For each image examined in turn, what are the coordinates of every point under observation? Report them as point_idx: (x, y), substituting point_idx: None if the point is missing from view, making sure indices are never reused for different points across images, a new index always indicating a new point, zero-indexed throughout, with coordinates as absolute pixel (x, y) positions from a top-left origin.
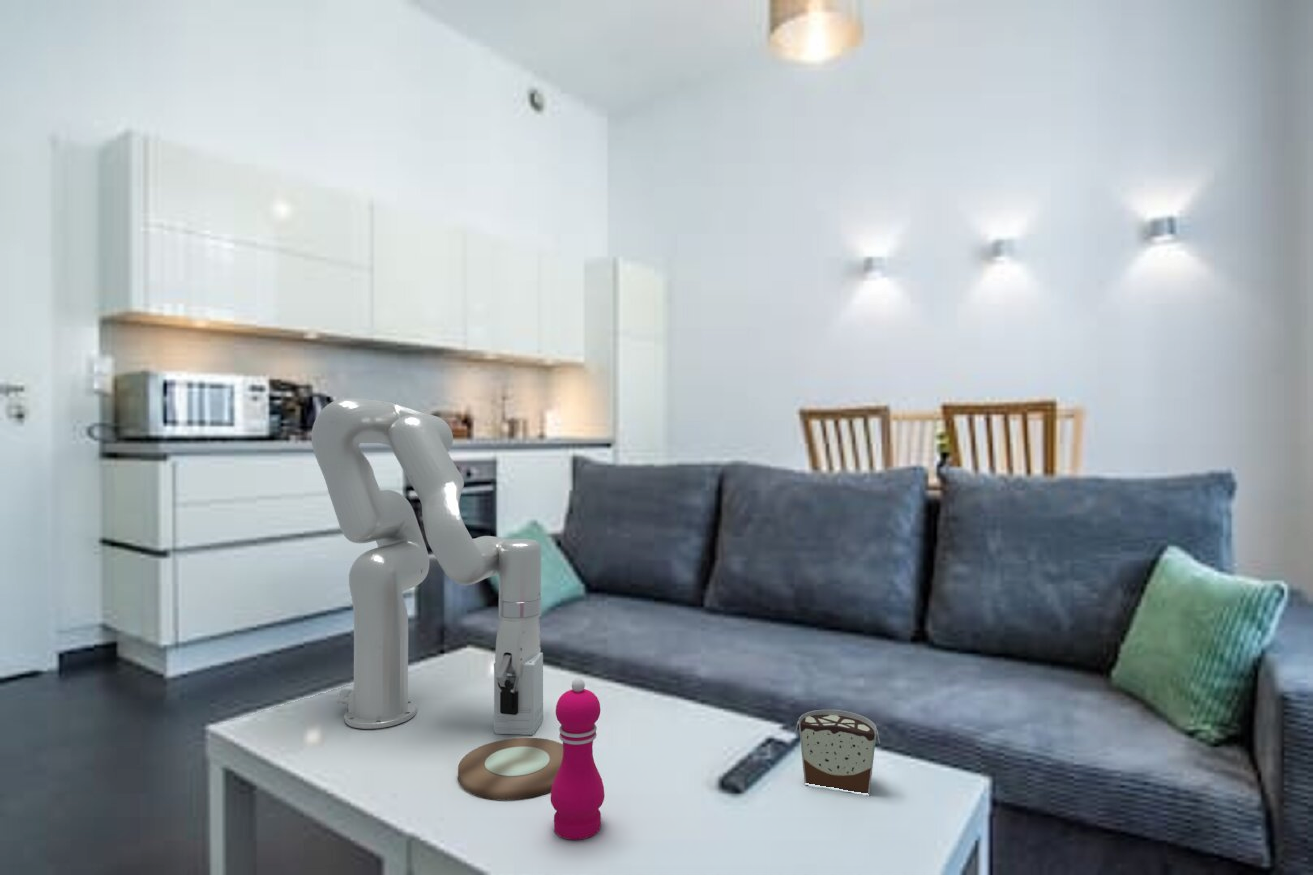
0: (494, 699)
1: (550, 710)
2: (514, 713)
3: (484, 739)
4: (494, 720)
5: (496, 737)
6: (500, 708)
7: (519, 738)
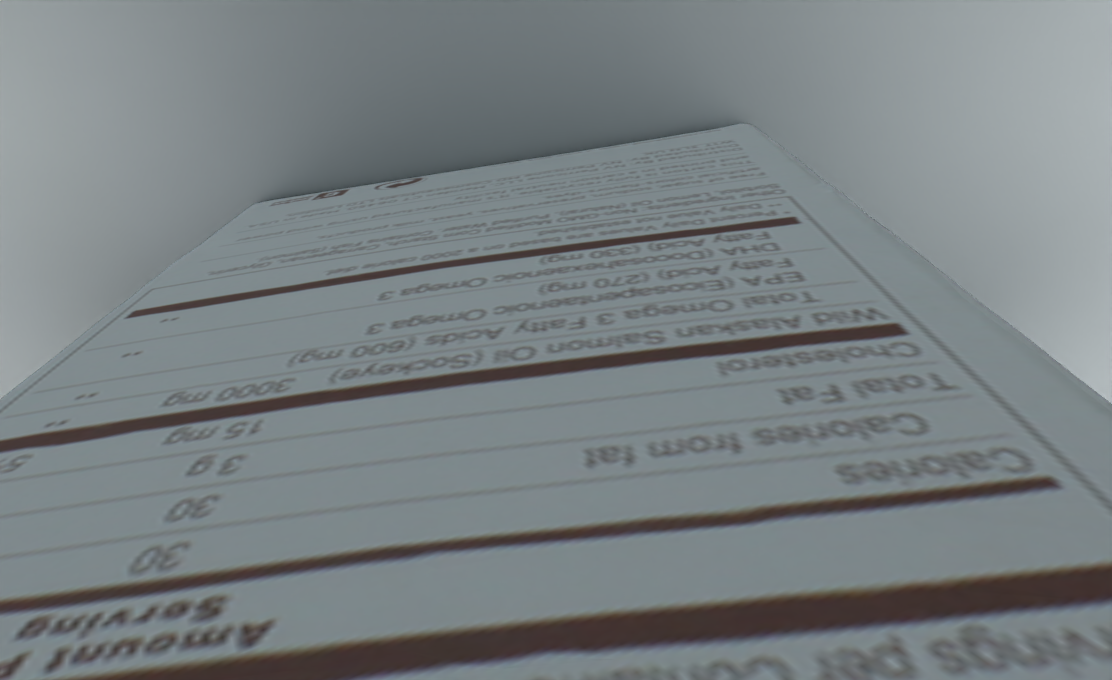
0: (33, 378)
1: None
2: None
3: (68, 155)
4: (198, 246)
5: None
6: None
7: None
